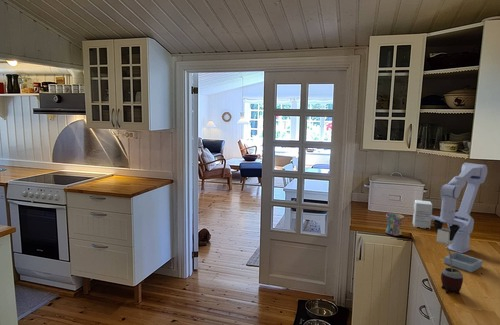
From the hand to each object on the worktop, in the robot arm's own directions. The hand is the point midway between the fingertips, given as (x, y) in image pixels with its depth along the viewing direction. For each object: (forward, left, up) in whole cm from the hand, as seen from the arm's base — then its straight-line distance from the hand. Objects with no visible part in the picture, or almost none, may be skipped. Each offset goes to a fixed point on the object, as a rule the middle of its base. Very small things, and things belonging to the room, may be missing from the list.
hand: (445, 238), depth 161 cm
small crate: (0, 0, -2) cm, 2 cm away
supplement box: (-37, -30, -9) cm, 48 cm away
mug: (-7, -30, -9) cm, 32 cm away
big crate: (+4, +10, -9) cm, 14 cm away
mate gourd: (+33, +18, -9) cm, 38 cm away
